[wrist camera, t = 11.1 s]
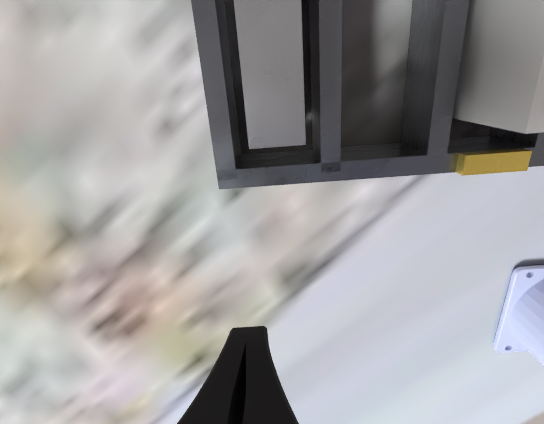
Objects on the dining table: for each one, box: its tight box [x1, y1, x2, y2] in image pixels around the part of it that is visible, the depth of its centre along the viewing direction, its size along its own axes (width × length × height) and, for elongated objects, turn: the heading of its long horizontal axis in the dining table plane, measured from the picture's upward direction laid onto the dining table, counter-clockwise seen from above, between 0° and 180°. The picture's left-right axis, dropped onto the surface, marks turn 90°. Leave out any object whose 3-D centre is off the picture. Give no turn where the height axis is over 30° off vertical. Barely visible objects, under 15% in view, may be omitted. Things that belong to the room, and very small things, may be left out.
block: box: [452, 0, 544, 134], centre depth 13 cm, size 2×10×7 cm, turn 5°
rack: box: [191, 0, 544, 189], centre depth 14 cm, size 17×15×6 cm
